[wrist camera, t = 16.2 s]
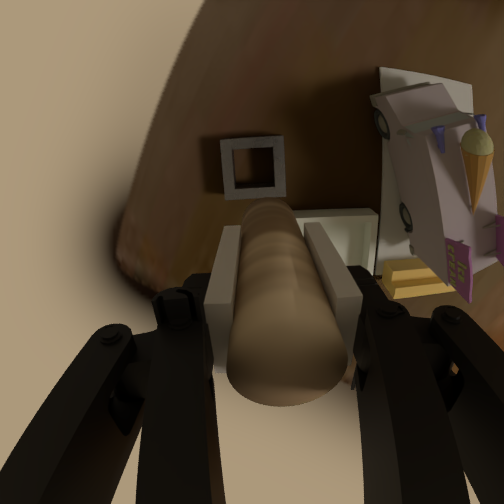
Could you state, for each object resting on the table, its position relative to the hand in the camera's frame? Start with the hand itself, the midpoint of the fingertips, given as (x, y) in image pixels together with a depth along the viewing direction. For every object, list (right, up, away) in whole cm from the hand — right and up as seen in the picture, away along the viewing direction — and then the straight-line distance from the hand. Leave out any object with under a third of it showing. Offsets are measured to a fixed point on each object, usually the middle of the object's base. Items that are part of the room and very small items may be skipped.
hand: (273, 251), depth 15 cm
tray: (+8, 0, +22) cm, 24 cm away
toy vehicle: (+19, +10, +18) cm, 28 cm away
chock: (+22, -2, +23) cm, 32 cm away
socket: (-1, +10, +18) cm, 21 cm away
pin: (0, +2, +4) cm, 4 cm away
